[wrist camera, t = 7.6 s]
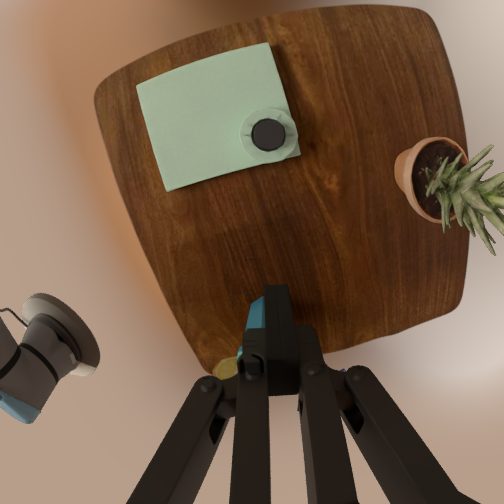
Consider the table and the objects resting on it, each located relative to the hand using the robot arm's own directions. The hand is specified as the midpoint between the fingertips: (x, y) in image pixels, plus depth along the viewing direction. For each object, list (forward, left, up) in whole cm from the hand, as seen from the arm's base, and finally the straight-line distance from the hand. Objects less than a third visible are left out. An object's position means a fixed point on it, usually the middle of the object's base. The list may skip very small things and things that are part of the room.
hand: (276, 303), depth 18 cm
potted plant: (+17, +11, -17) cm, 26 cm away
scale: (-8, +12, -17) cm, 22 cm away
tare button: (-2, +10, -14) cm, 18 cm away
